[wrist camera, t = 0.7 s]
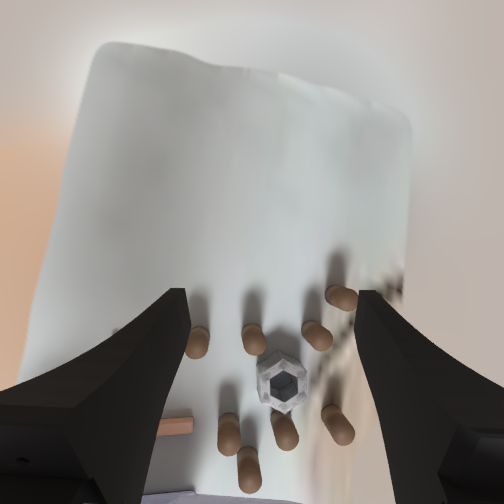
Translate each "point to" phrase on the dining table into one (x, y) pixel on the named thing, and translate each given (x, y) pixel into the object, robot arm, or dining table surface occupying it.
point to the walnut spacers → (280, 422)
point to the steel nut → (290, 393)
